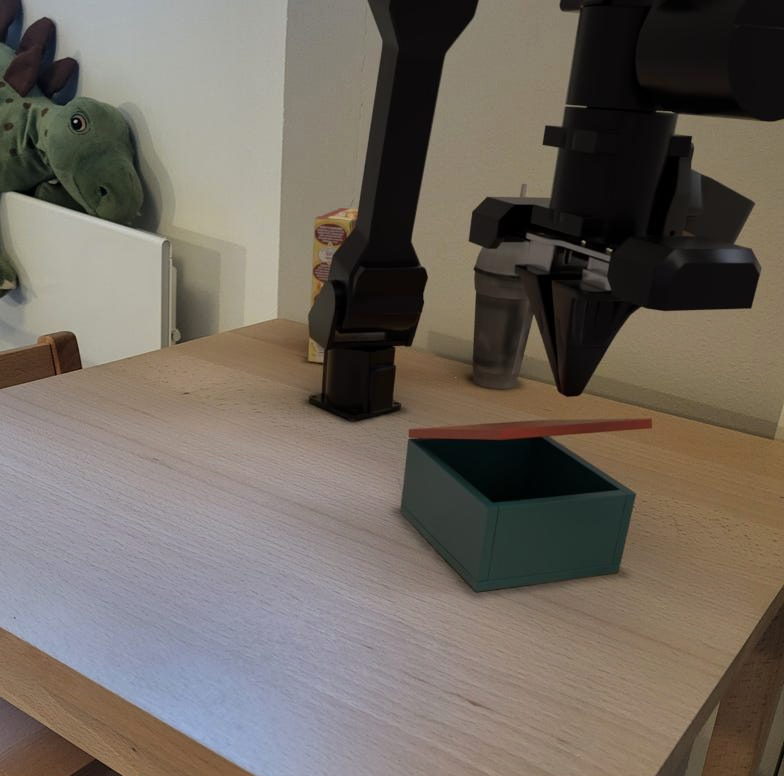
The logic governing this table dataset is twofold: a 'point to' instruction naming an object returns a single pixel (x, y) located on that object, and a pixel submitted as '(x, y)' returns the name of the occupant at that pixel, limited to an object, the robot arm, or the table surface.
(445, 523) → the teal open box
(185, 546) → the table surface
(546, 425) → the lid
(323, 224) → the candy box
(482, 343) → the beverage cup
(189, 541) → the table surface
